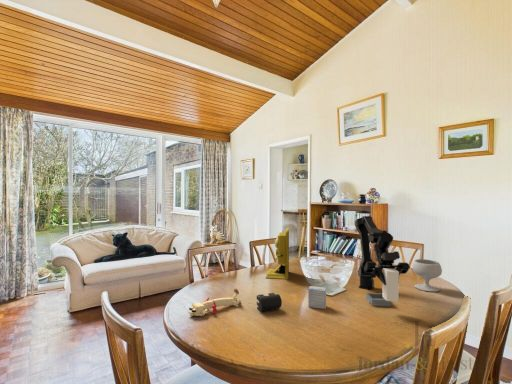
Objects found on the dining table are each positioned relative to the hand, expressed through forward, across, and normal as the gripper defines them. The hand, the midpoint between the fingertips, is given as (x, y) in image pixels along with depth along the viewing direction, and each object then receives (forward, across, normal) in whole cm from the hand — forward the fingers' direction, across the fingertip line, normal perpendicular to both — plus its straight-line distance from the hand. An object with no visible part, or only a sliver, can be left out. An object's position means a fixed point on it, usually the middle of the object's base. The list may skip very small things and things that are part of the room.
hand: (391, 285), depth 123 cm
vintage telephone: (-29, -50, +49) cm, 75 cm away
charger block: (+4, 0, +6) cm, 7 cm away
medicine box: (+5, -31, +14) cm, 35 cm away
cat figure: (+11, -78, +9) cm, 80 cm away
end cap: (+9, -54, +10) cm, 56 cm away
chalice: (-16, +34, +35) cm, 51 cm away
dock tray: (0, -1, +19) cm, 19 cm away
